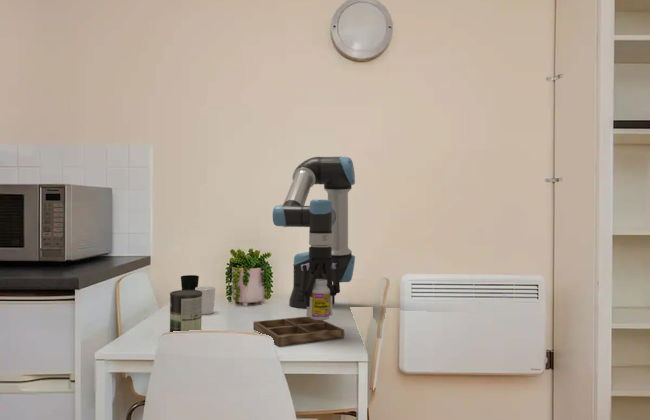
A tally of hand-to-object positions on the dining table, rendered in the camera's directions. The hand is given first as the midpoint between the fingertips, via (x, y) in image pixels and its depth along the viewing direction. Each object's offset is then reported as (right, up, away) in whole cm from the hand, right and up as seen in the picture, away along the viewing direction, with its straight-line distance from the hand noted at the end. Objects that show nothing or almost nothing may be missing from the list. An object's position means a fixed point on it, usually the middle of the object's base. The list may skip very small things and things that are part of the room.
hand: (319, 315), depth 163 cm
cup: (-58, -6, +52) cm, 78 cm away
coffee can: (-44, -6, -1) cm, 45 cm away
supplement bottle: (0, -1, 0) cm, 1 cm away
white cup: (-46, -6, +34) cm, 58 cm away
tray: (-7, -7, +2) cm, 10 cm away
